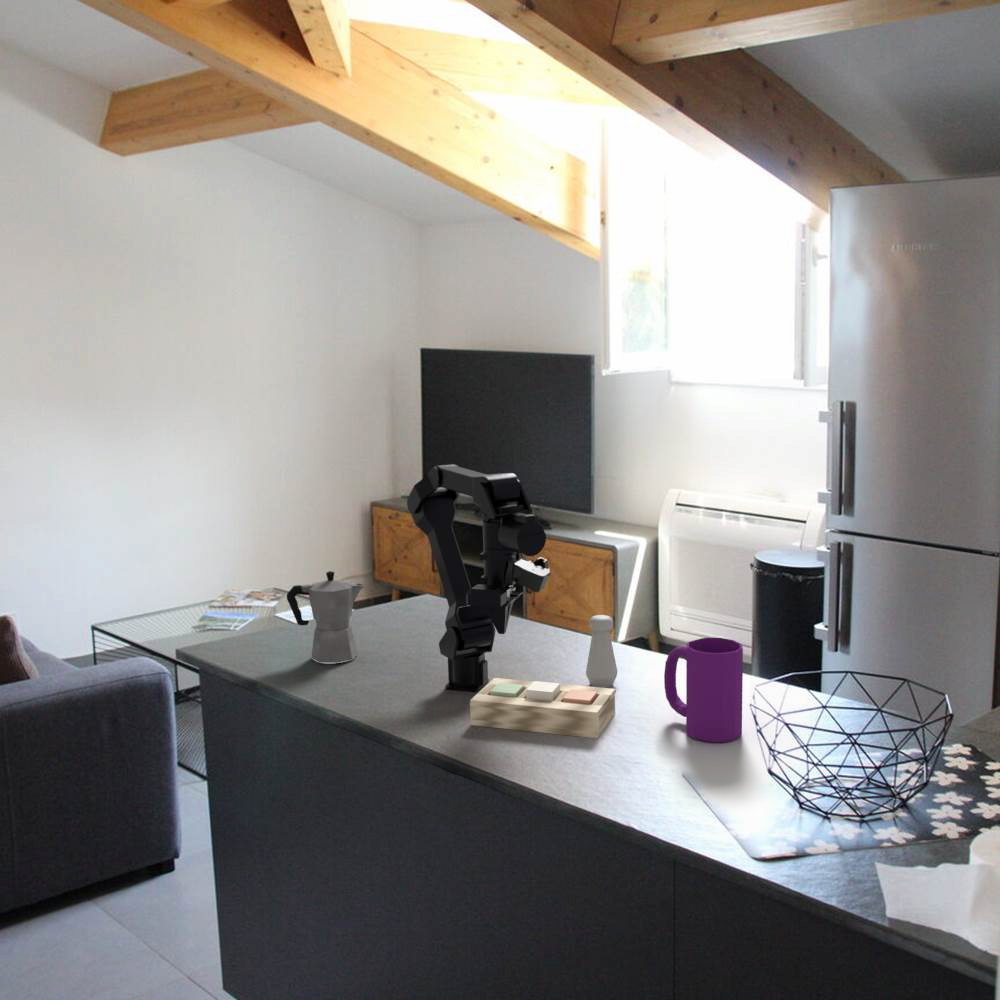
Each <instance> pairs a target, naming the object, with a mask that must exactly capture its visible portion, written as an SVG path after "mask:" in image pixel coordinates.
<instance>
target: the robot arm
mask: <svg viewBox="0 0 1000 1000" xmlns="http://www.w3.org/2000/svg"><path fill="white" fill-rule="evenodd" d="M460 494H463V495H466V496H469V497H471V498H472V501H473V503H474V504H475V505H476V506H478V507H479V508H481V510H479V511H478V513H476V517H477V518H478V519H482V541H483V542H482V546H483V549H482V552H481V553H479V560H480V561H483V575H481V576H480V578H479V579H480V582H479V583H478V584H476V585H474V586H472V588H471V583H470V581H469V577H468V575H467V571H466V567H465V565H464V561H463V559H462V555H461V552H460V548H459V545H458V541H457V539H456V535H455V532H454V529H453V524H454V520H455V516H456V513H457V511H456V503H457V501H458V499H459V498H460V497H461V496H460ZM406 505H407V510H408V511H409V513H410V515H411V517H412V520H413V522H414V524H415V526H416V527H417V528H418V529H419V530H421V531H422V532H423V533H424V534H425V535H426V536H427V539H428V542H429V546H430V549H431V552H432V555H433V559H434V561H435V564H436V565H435V566H436V567H437V568H436V569H437V571H438V575H439V579H440V581H441V582H440V583H441V585H442V589H443V592H444V595H445V598H446V601H447V604H448V610H447V613H446V618H445V621H444V625H445V628H446V629H445V632H444V634H443V635H442V637H441V639H440V640H439V642H438V647H439V652H440V655H441V656H444V657H446V658H447V671H448V672H447V673H448V675H447V677H448V683H446V684H445V685H444V688H445V689H449V690H458V691H470V692H479V691H480V690H482V689H483V688H484V687H485V686H486V685H487V684H488V683H489V682H490V681H489V680H490V679H489V669H488V668H489V667H488V660H487V659H486V654H485V653H491V652H492V651H493V647H494V641H495V638H496V637H495V635H496V632H497V633H498V634H499V635H505V634H506V632H507V629H508V624H509V619H510V617H511V616H510V615H511V612H512V608H513V604H514V602H515V601H516V600H517V599H518V598H519V597H520V596H521V595H523V593H524V592H523V591H522V590H516V586H514V585H515V584H518V585H520V586H523V587H524V588H527V589H529V590H530V591H531V592H533V593H540V592H541V591H542V590H543V589H545V588H546V585H547V582H548V580H549V578H550V577H551V569H550V568H549V562H548V559H546V558H544V557H542V556H540V557H538V558H537V559H535V561H533V562H532V560H524V559H523V555H524V556H525V557H535V556H537V555H538V554H540V553H541V551H542V550H543V549H544V547H545V545H546V541H547V534H546V532H545V529H544V526H542V525H541V524H540V523H538V522H536V515H535V514H533V510H532V507H531V501H530V500H529V497H528V496H527V494H526V492H525V490H524V487H523V485H522V482H521V481H520V480H519V478H518V476H517V475H516V474H515V473H513V472H505V473H503V472H502V473H491V474H486V473H483V472H479V471H476V470H471V469H468V468H464V467H460V466H459V465H457V464H454V463H451V464H441V465H435V466H434V467H431V468H430V469H429V472H428V473H427V475H426V476H424V477H423V478H422V479H420V480H419V481H418V482H417V483H415V484H414V485H413V488H411V491H410V493H409V494H408V497H407V500H406Z"/></svg>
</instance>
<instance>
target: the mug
mask: <svg viewBox="0 0 1000 1000" xmlns="http://www.w3.org/2000/svg"><path fill="white" fill-rule="evenodd" d="M681 656H682V657H683V659H684V660H685V661H686V666H685V668H686V672H685V673H686V674H685V676H686V680H685V681H686V689H685V691H686V698H685V701H686V703H685V702H683V700H682V699H681V697H680V696H679V694H678V690H677V670H678V669H677V666H678V662H679V658H680V657H681ZM743 658H744V649H743V644H742V643H740V642H738V641H736V640H734V639H728V638H722V637H701V638H698V639H694V640H690V641H688V642H686V646H683V645H682V646H681V645H680V646H679V645H678V646H676V647H675V648H673V649H672V650H671V651H670V653H669V654H667V657H666V661H665V667H664V677H663V680H664V683H663V684H664V693H665V697H666V700H667V701H668V704H669V705H670V707H671V709H672V710H673V711H674V712H676V714H679V715H680V716H682V717H685V720H686V722H685V723H686V725H685V726H686V729H685V730H686V731H685V732H686V734H687V735H688V736H689V737H691V738H693V739H694V740H696V741H700V742H705V743H713V744H714V743H715V744H717V743H718V744H722V743H729V742H733V741H735V740H736V739H738V738H740V737H741V736H742V734H743V678H744V677H743V676H744V675H743V672H744V671H743V668H744V667H743V666H744V663H743V662H744V659H743ZM732 740H733V741H732ZM728 741H729V742H728Z"/></svg>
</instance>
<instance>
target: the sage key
mask: <svg viewBox="0 0 1000 1000" xmlns="http://www.w3.org/2000/svg"><path fill="white" fill-rule="evenodd" d="M523 691H524V685H519V684H508V683H498V684H497V685H496V686H495V687H494V688H493V689H492V690H491V691H490V695H495V696H506V697H516V698H517V697H518V696H519V695H520V694H521V693H522V692H523Z"/></svg>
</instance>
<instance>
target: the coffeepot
mask: <svg viewBox="0 0 1000 1000" xmlns="http://www.w3.org/2000/svg"><path fill="white" fill-rule="evenodd" d="M325 574H326V577H327V580H322V581H318V582H314V583H312V584H302V585H299V584H297V585H293V586H292V587H291V588H290V589H289V591H288V592H287V594H286V600H287V602H288V604H289V607H290V609H291V611H292V613H293V615H294V616H293V617H294V618H295V621H296V623H297V625H298V626H308V624H309V622H310V621H309V620H305V619H303V618H302V612H301V611H302V610H301V609H300V608H299V604H298V601H297V598H296V597H297V596H298V595H302V596H308V598H309V603H310V607H311V612H312V617H313V619H314V620H315V628H314V631H313V632H314V633H313V640H312V650H311V656H310V657H311V658H313V659H315V660H317V661H319V662H341V661H345V660H346V661H347V660H351V659H353V658H354V657H355V656H356V655H357V656H358V651H357V646H356V642H355V638H354V634H353V628H352V626H351V625H350V624H351V623H350V618H351V617H353V616H352V615H353V606H354V603H355V601H356V599H357V598H358V595H359V593H360V592H361V590H362V589H364V588H365V586H364V584H362V583H358V582H350V581H347V580H339V579H334V578H335V571H330V570H329V571H326V573H325ZM357 656H356V657H357Z"/></svg>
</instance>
